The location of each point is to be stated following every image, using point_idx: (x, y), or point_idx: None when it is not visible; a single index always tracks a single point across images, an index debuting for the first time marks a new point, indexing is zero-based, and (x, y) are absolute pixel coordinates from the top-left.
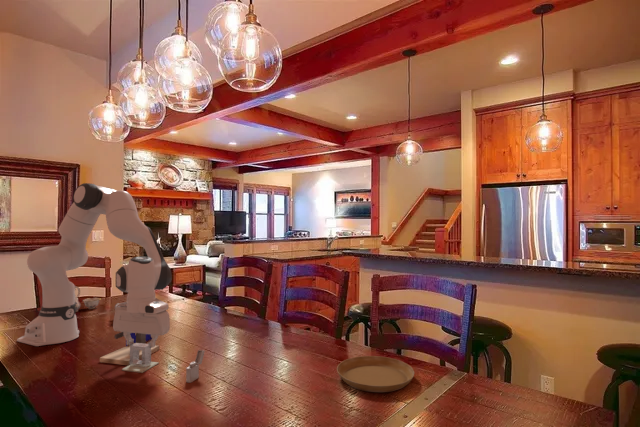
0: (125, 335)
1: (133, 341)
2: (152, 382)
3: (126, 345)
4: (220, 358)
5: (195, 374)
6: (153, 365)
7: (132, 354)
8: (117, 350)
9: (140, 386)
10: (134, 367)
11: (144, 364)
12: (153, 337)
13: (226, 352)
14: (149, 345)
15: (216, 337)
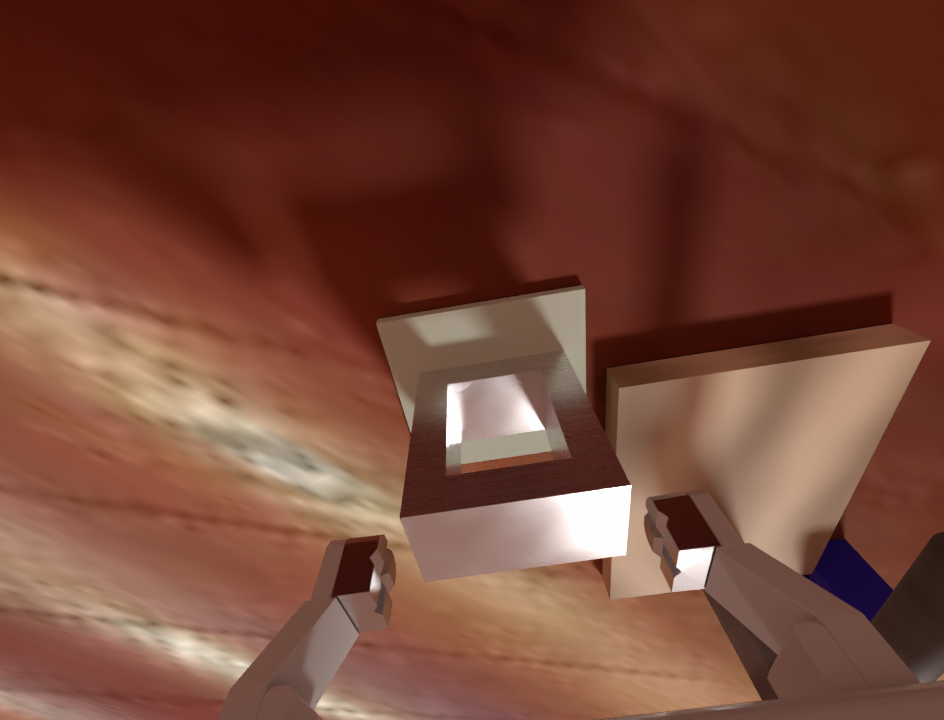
0: (812, 612)
1: (818, 584)
2: (95, 215)
3: (846, 547)
4: (180, 611)
5: None
6: (409, 427)
7: (560, 418)
8: (851, 476)
9: (74, 89)
10: (507, 350)
11: (420, 389)
12: (240, 696)
13: (236, 653)
14: (358, 555)
15: (450, 712)
